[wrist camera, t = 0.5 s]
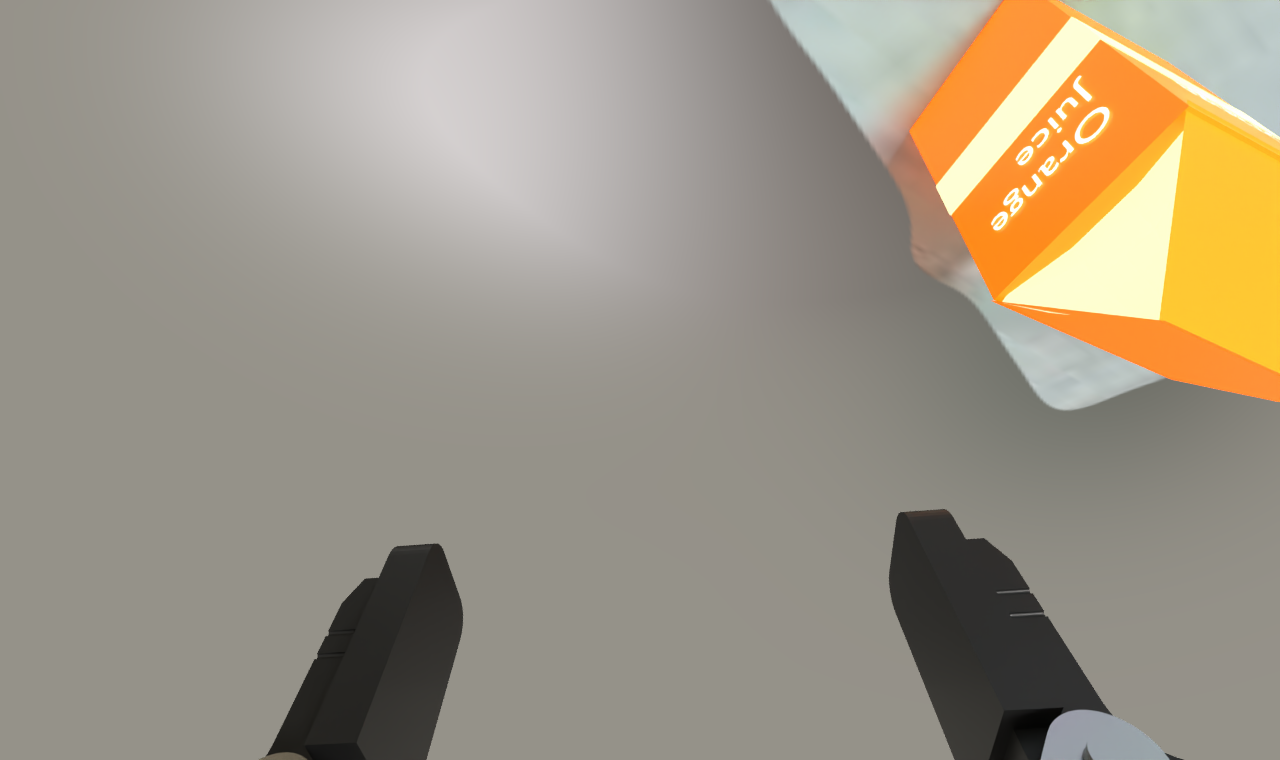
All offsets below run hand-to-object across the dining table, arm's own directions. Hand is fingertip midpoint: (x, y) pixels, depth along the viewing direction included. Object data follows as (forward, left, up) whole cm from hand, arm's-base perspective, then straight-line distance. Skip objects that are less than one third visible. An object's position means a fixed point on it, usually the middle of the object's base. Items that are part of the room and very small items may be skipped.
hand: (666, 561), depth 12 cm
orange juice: (+11, +13, -28) cm, 33 cm away
